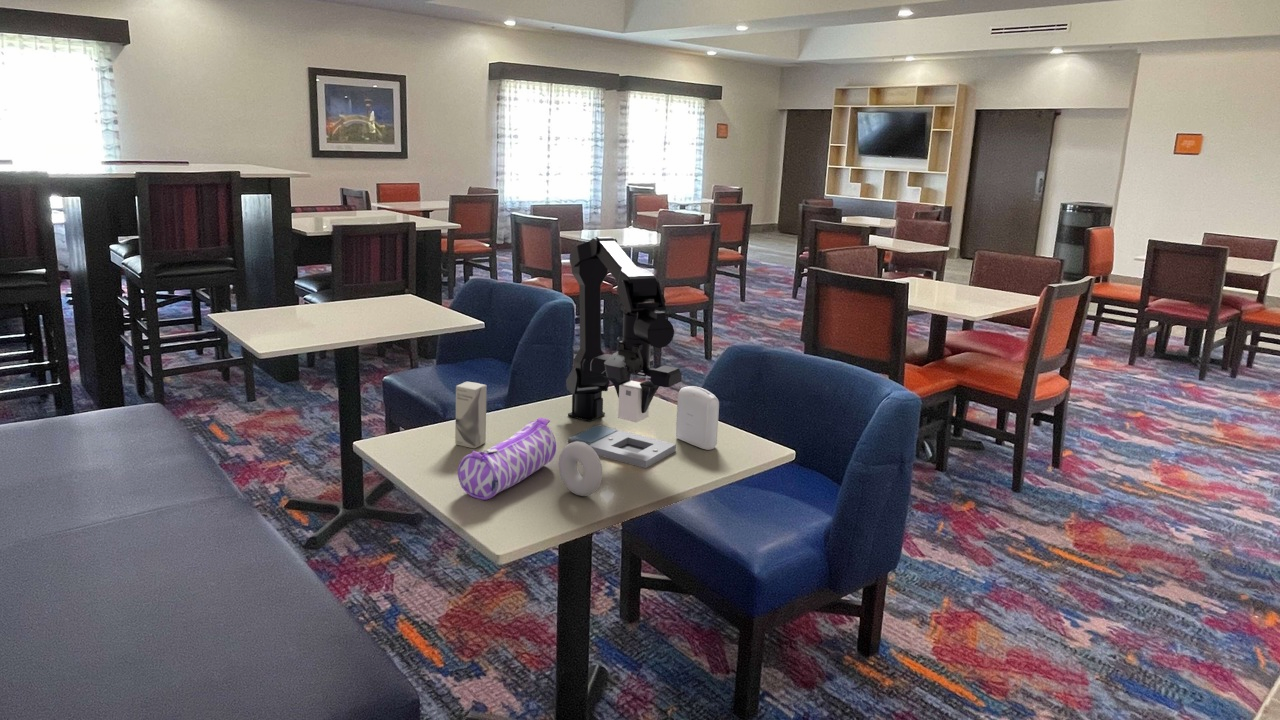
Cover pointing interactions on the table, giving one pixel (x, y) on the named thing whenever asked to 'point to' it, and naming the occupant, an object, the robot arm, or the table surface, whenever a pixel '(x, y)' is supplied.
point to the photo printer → (697, 417)
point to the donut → (590, 467)
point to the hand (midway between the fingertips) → (633, 410)
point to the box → (470, 414)
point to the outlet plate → (633, 448)
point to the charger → (631, 402)
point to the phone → (592, 434)
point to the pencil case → (507, 461)
